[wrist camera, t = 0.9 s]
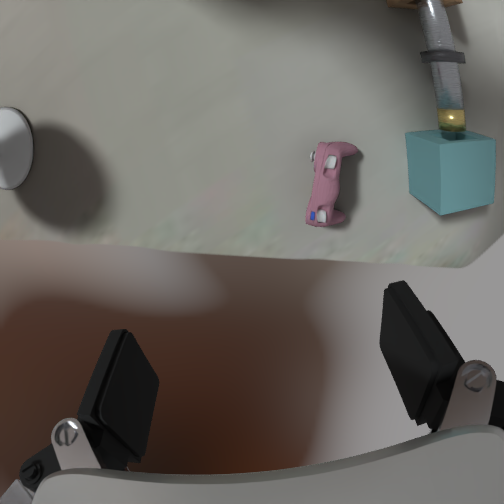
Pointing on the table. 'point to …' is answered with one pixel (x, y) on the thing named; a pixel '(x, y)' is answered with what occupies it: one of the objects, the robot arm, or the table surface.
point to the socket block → (451, 169)
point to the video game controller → (327, 183)
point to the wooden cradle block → (409, 2)
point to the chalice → (14, 148)
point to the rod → (443, 64)
